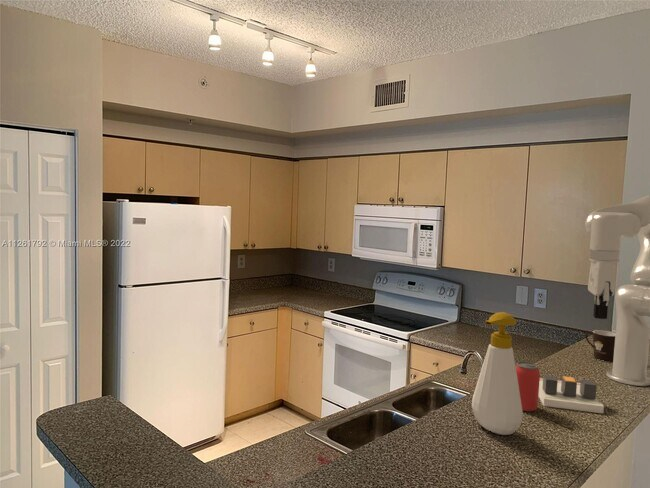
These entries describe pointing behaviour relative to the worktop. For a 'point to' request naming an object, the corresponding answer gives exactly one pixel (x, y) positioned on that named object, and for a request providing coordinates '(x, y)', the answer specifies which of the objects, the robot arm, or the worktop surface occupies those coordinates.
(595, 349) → the coffee mug
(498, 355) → the soap bottle
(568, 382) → the block
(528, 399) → the beer can
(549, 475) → the worktop surface
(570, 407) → the breaker panel
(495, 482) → the worktop surface
